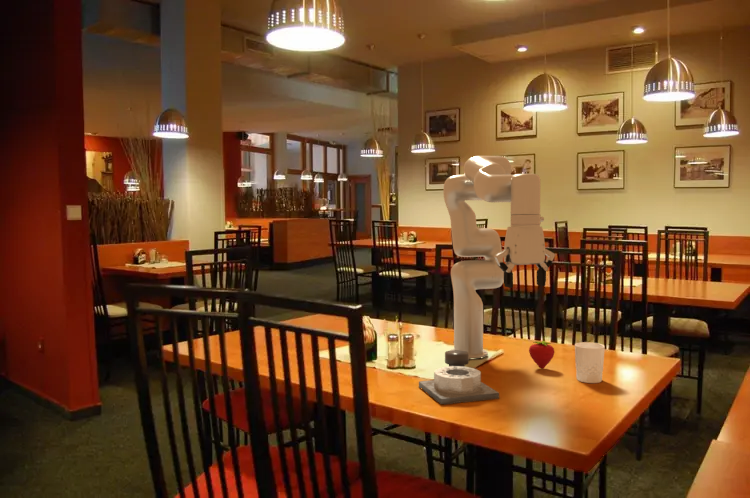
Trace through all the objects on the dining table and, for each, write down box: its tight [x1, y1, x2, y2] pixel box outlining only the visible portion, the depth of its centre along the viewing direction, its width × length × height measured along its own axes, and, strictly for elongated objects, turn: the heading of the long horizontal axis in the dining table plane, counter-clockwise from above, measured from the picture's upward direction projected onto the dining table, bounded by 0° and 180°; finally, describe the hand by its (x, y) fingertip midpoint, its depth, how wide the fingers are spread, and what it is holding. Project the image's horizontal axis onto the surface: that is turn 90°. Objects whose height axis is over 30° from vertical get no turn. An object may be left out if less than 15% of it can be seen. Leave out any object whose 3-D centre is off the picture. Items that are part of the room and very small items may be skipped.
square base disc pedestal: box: [418, 365, 500, 405], centre depth 158 cm, size 16×16×6 cm
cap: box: [444, 349, 470, 367], centre depth 173 cm, size 7×7×7 cm
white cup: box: [574, 341, 605, 384], centre depth 168 cm, size 8×8×10 cm
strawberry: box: [528, 337, 556, 369], centre depth 181 cm, size 6×8×10 cm
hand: (524, 286), depth 157 cm, fingers open, 9 cm apart
